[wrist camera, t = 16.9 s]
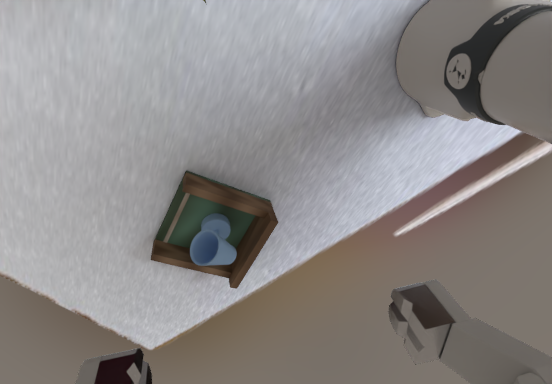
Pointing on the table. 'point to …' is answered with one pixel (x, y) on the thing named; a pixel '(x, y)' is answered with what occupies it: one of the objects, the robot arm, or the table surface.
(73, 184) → the table surface
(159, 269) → the table surface
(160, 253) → the wooden display tray
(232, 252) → the spotlight
